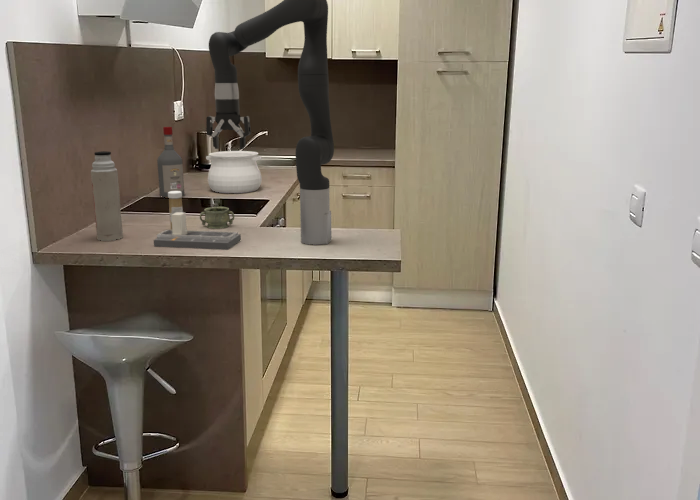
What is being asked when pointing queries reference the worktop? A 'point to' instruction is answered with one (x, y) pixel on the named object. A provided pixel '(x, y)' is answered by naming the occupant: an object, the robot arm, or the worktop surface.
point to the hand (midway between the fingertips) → (229, 148)
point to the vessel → (217, 217)
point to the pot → (234, 171)
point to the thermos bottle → (106, 197)
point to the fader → (179, 223)
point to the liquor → (170, 167)
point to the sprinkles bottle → (174, 203)
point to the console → (198, 239)
